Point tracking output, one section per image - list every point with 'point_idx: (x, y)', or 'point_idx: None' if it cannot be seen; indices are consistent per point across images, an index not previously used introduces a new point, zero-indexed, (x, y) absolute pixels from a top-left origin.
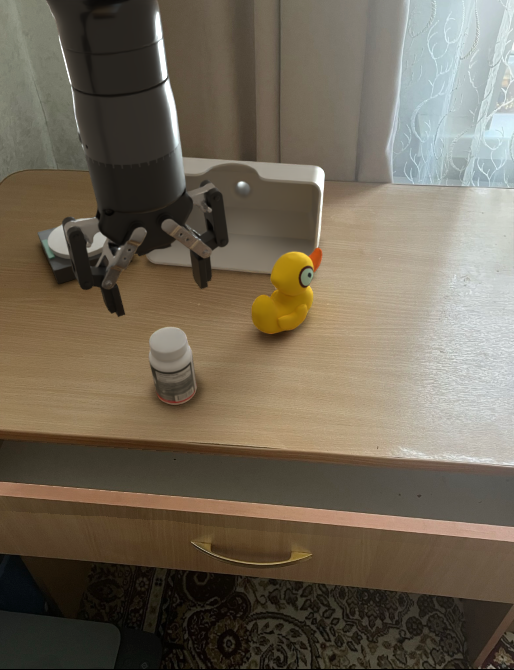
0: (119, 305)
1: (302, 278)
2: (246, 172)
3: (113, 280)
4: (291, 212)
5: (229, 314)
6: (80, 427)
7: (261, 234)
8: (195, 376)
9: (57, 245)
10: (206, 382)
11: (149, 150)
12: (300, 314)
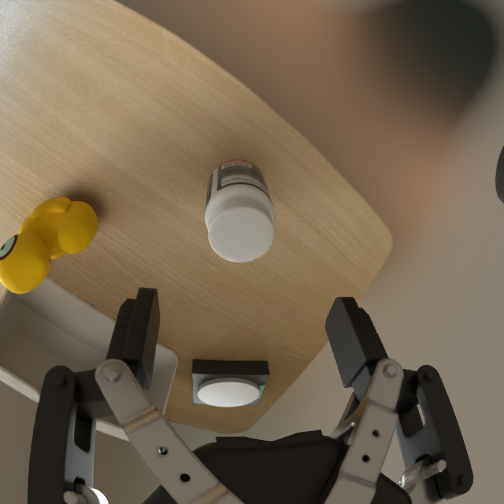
0: (355, 318)
1: (10, 245)
2: None
3: (382, 376)
4: (28, 337)
5: (120, 259)
6: (354, 200)
7: (61, 331)
8: (209, 182)
9: (252, 393)
10: (195, 175)
11: None
12: (41, 207)
